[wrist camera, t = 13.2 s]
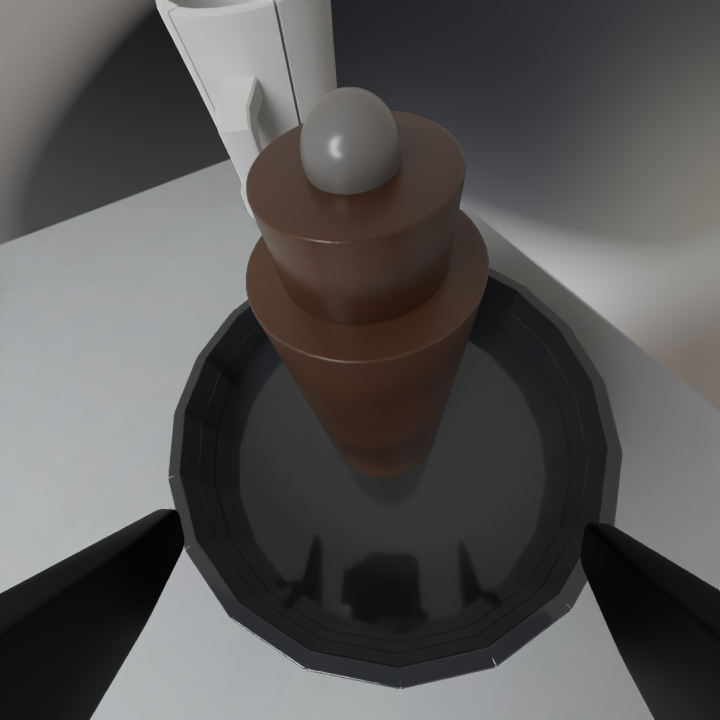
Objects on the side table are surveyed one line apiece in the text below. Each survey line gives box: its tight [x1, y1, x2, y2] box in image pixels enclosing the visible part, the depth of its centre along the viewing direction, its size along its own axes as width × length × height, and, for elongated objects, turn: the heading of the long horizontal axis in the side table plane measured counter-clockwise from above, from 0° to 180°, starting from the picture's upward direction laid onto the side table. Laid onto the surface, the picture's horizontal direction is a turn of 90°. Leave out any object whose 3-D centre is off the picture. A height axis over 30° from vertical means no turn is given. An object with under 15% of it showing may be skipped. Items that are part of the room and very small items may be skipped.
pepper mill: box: [246, 87, 489, 478], centre depth 11 cm, size 5×5×14 cm
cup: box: [156, 0, 337, 220], centre depth 22 cm, size 10×9×12 cm
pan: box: [168, 268, 622, 689], centre depth 16 cm, size 18×18×4 cm
